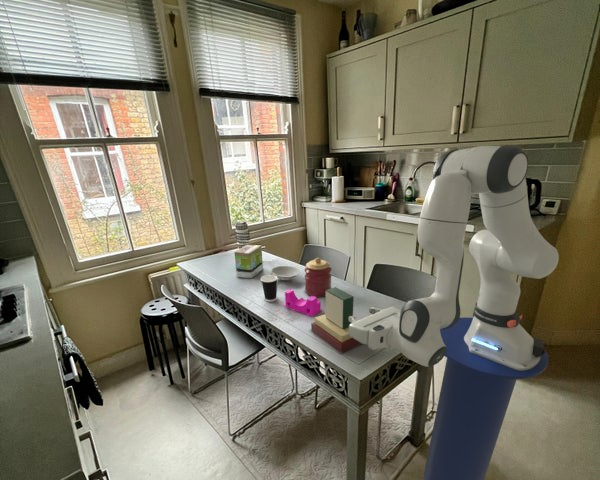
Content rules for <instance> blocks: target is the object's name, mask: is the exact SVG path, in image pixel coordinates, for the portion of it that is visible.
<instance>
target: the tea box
mask: <svg viewBox="0 0 600 480" xmlns="http://www.w3.org/2000/svg"><path fill="white" fill-rule="evenodd" d="M234 261H235V272H236V277H237V278H244V279H245V278H246V279H253V278H254V277H255V276H256V275H257V274H259V273H260V272H261V271H262V270H263V269H264V263H263V249H262V245H257V244H250V245H245V246H244V247H242V248H240V249H239V250H238V249H237V250H236V251H234Z"/></svg>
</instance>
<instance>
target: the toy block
mask: <svg viewBox="0 0 600 480" xmlns="http://www.w3.org/2000/svg"><path fill="white" fill-rule="evenodd" d="M284 300H285V302H284V303H285V308H288V309H291V310H293V311H296V312H298V313H301V314H304V315H306V316H309V317H314V316H316V315H317V314H318V313H320V312H321V311H322V301H320V300H318V297H315V296H309V297H308V298H307V299H305V298H303V297H301V298H298V297H297V295H296V293H295V290H294V289H291V288H290V289H288V290H285V292H284Z"/></svg>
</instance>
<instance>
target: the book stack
mask: <svg viewBox="0 0 600 480" xmlns="http://www.w3.org/2000/svg"><path fill="white" fill-rule="evenodd" d="M310 324H311V325H310V327H311V330H310V331H311V332H312V333H313V334H315V335H316V336H318V337H319V338H320V339H322V340H323V341H324V342H325V343H327V344H329V345H330V346H331V347H332V348H334V349H335V350H336V351H338V353H341V354H343V353H344V352H347V351H349V350H351V349H353V348H356V347H357V346H359V345H362V343H361V342H359V341H357V340H356V339H354V338H353V337H351V336H350V335H349V327H348V328H346V329H342V328H340V327H338V326H337V325H335V324H334V323H332V322H331V321H329V320H328V319H326V313H324V314H321V315H319V316H316V317H314V322H311V323H310Z"/></svg>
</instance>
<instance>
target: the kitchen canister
mask: <svg viewBox="0 0 600 480" xmlns="http://www.w3.org/2000/svg"><path fill="white" fill-rule="evenodd" d="M304 272H305V274H304V283H305V284H304V291H305V293H306V294H307V295H308V296H309V297H311V296H314V297H317V298H321V297H326V290H328V289H331V288H332V274H331V272H332V267H331V264H330V263H329V262H328V261H326V260H325V259H321V258H320V257H316V258H315V259H312V260H310V261H308V262H307V263H306V264H305V268H304Z"/></svg>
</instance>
